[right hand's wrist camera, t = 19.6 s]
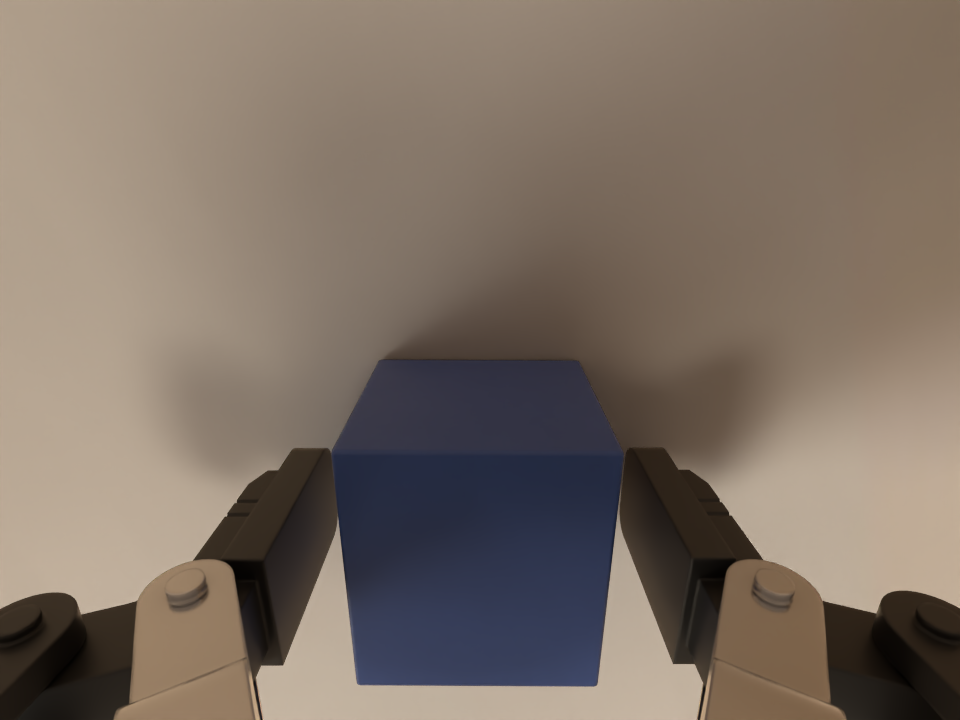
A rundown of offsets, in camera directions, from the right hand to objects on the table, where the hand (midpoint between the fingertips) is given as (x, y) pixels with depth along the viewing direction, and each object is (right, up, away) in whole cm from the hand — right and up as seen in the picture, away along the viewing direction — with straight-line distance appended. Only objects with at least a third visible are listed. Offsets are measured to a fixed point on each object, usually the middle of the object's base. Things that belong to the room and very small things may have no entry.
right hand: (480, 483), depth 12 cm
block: (0, 0, +1) cm, 1 cm away
